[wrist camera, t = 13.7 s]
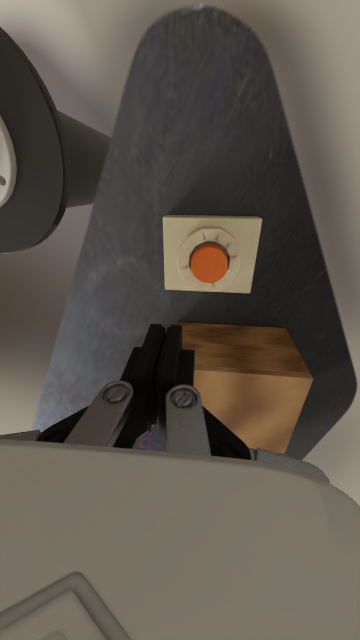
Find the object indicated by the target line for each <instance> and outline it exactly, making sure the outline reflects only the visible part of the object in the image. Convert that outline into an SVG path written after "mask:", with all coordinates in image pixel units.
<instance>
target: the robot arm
mask: <svg viewBox="0 0 360 640" xmlns="http://www.w3.org/2000/svg"><path fill="white" fill-rule="evenodd" d="M16 175H17V166H16V156H15V152H14V147H13V143H12V140H11V138H10V135H9V132H8V129H7V128H6V126H5V124H4V122H3V120H2V118H1V116H0V207H1V206H2V205H3V204H5V203H6V202H7V201H8V199H9V198H10V196H11V194H12V193H13V190H14V187H15V184H16ZM194 363H195V350H186V349H182V325H172V326H171V327H168V328H167V332H166V333H165V327H162V325H161V324H151V325H150V327H149V330H148V333H147V335H146V338H145V341H144V343H143V346H142V347H134V349H133V351H132V353H131V356H130V358H129V360H128V363H127V365H126V367H125V370H124V372H123V374H122V377H121V379H120V381H113V382H111V383H108V384H107V385H105V386H104V387H103V388H102V389H101V390H100V391H99V393H98V394H97V396H96V397H95V399H94V400H93V401H92V403H91V404H90V405H89V406H87V407H86V408H84V409H82V410H80V411H78V412H76V413H74V414H73V415H71V416H69V417H67V418H65V419H63V420H61V421H60V422H58V423H56V424H54V425H52V426H50V427H49V428H47V429H46V430H45V431H44V432H40V430H35V431H27V432H20V433H13V434H6V435H0V640H360V506H359V505H358V504H357V503H356V502H355V501H354V500H353V499H352V498H351V497H349V496H348V495H346V494H345V493H344V492H343V491H341V490H339V489H338V488H336V487H334V486H333V485H331V484H330V483H329V479H328V478H327V477H326V475H325V474H324V473H323V472H322V471H321V470H320V469H319V468H318V467H316V466H314V465H312V464H310V463H307V462H304V461H301V460H298V459H294V458H291V457H288V456H284V455H281V454H278V453H274V452H271V451H268V450H264V449H261V448H258V447H257V449H256V450H255V449H252V448H248V447H247V445H246V444H245V443H244V442H243V441H242V440H241V439H240V438H239V437H238V436H236V435H235V434H234V433H233V432H232V431H231V430H230V429H228V428H227V427H226V426H225V425H224V424H223V423H222V422H221V421H219V420H218V419H217V418H216V417H215V416H214V415H213V414H212V413H210V412H209V411H208V410H207V409H206V408H205V407H204V406H202V401H201V396H200V393H199V392H198V390H197V389H196V388H194V387H193V385H194ZM157 417H158V420H159V425H160V433H161V434H162V435H163V437H164V438H165V439H166V452H162V451H150V450H139V449H137V447H138V445H139V442H140V436H141V435H143V434H144V433H145V432H151V427H152V425H156V422H157Z"/></svg>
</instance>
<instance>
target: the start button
mask: <svg viewBox="0 0 360 640" xmlns="http://www.w3.org/2000/svg"><path fill="white" fill-rule="evenodd" d="M227 268H228V261H227V257H226V254H225V252H224V250H223V249H222V248H221V247H220V246H218V245H216V244H211V243H209V244H204V245H202V246H200V247H199V248H197V249H196V251H195V252H194V254H193V257H192V261H191V270H192V273H193V275H194V276H195V277H196V278H197V279H198V280H199V281H201V282H204V283H214V282H217V281H219V280H220V279H221V278H222V277H223V276H224V275H225V274H226V272H227Z"/></svg>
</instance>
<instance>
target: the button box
mask: <svg viewBox="0 0 360 640" xmlns="http://www.w3.org/2000/svg"><path fill="white" fill-rule="evenodd" d="M261 225H262V219H261V218H260V217H258V216H201V215H166V216H164V217H163V239H164V274H165V290H187V291H210V292H232V293H250V291H251V285H252V279H253V273H254V267H255V261H256V255H257V249H258V243H259V237H260V231H261ZM209 243H211V244H216V245H218V246H220V247H221V248H222V249H223V250H224V252H225V254H226V257H227V261H228V268H227V272H226V274H225V275H224V276H223V277H222V278H221V279H220V280H219V281H217V282H214V283H204V282H201V281H199V280H198V279H197V278H196V277H195V276H194V275H193V273H192V270H191V261H192V257H193V254H194V252H195V251H196V249H197V248H199V247H200V246H202V245H204V244H209Z"/></svg>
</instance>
